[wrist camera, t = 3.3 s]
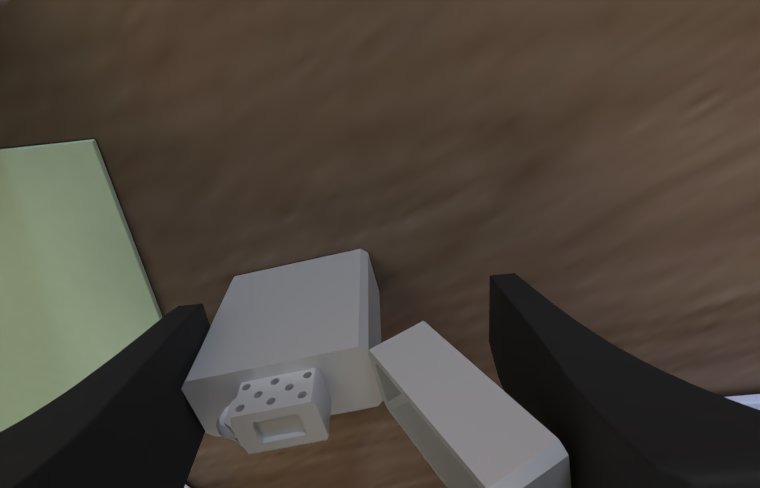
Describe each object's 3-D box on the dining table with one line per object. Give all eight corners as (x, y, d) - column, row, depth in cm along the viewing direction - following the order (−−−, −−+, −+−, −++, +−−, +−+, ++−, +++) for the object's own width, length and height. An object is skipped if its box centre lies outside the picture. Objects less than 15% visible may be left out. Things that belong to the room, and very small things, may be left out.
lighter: (249, 324, 15) (142, 627, 8) (228, 277, 14) (88, 568, 7) (478, 276, 14) (588, 558, 7) (470, 224, 13) (584, 483, 6)
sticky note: (95, 138, 12) (91, 141, 12) (202, 422, 17) (201, 426, 17) (-213, 171, 12) (-221, 174, 12) (-22, 442, 17) (-26, 447, 17)
